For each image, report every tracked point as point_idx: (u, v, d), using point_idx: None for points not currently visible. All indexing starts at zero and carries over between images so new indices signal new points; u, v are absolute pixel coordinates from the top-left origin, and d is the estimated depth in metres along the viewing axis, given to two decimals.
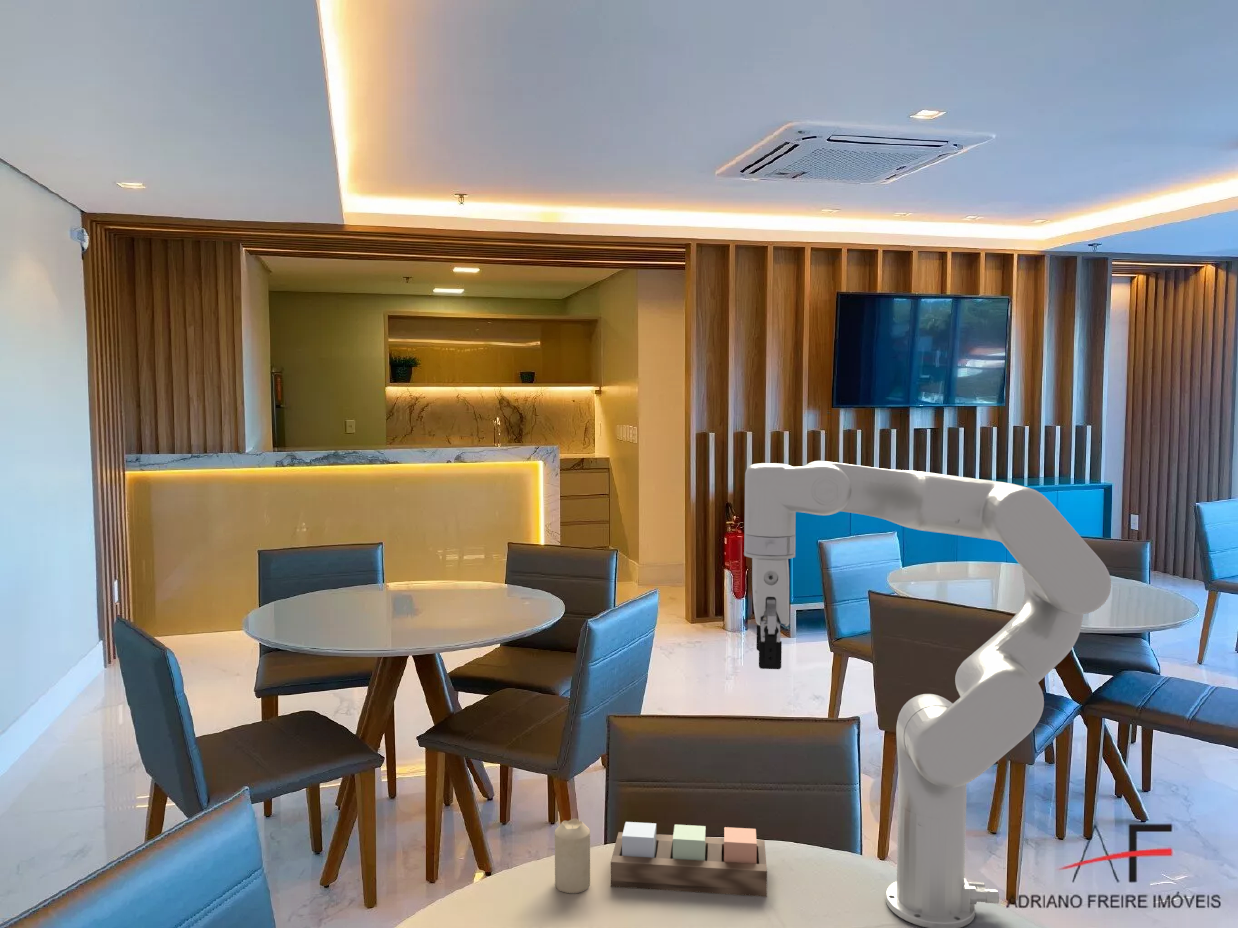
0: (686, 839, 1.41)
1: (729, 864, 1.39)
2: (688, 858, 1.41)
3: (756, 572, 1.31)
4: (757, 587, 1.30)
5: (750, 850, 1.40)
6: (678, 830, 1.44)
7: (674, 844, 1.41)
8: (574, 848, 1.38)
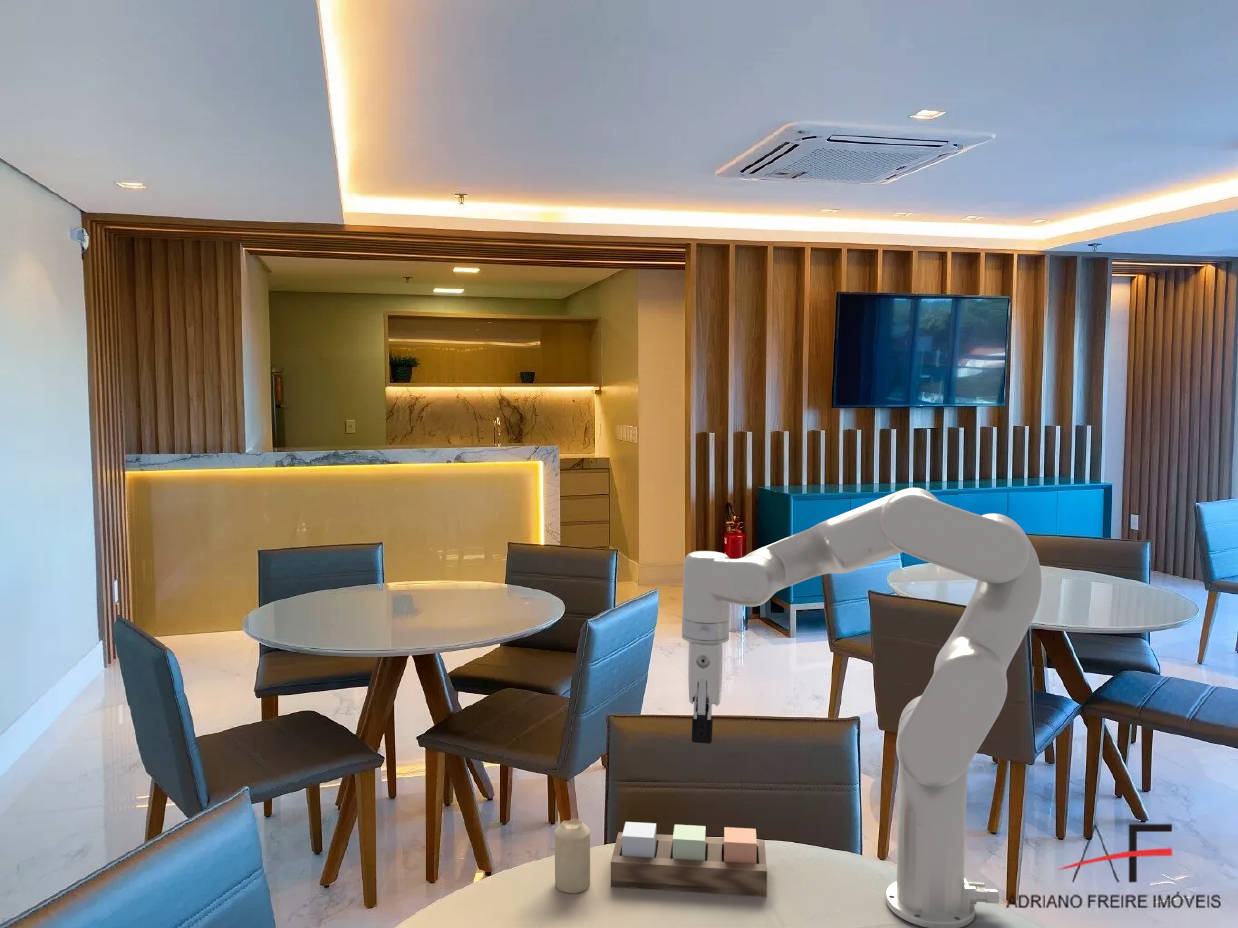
0: (686, 839, 1.41)
1: (729, 864, 1.39)
2: (688, 858, 1.41)
3: (690, 655, 1.41)
4: (690, 669, 1.40)
5: (750, 850, 1.40)
6: (678, 830, 1.44)
7: (674, 844, 1.41)
8: (574, 848, 1.38)
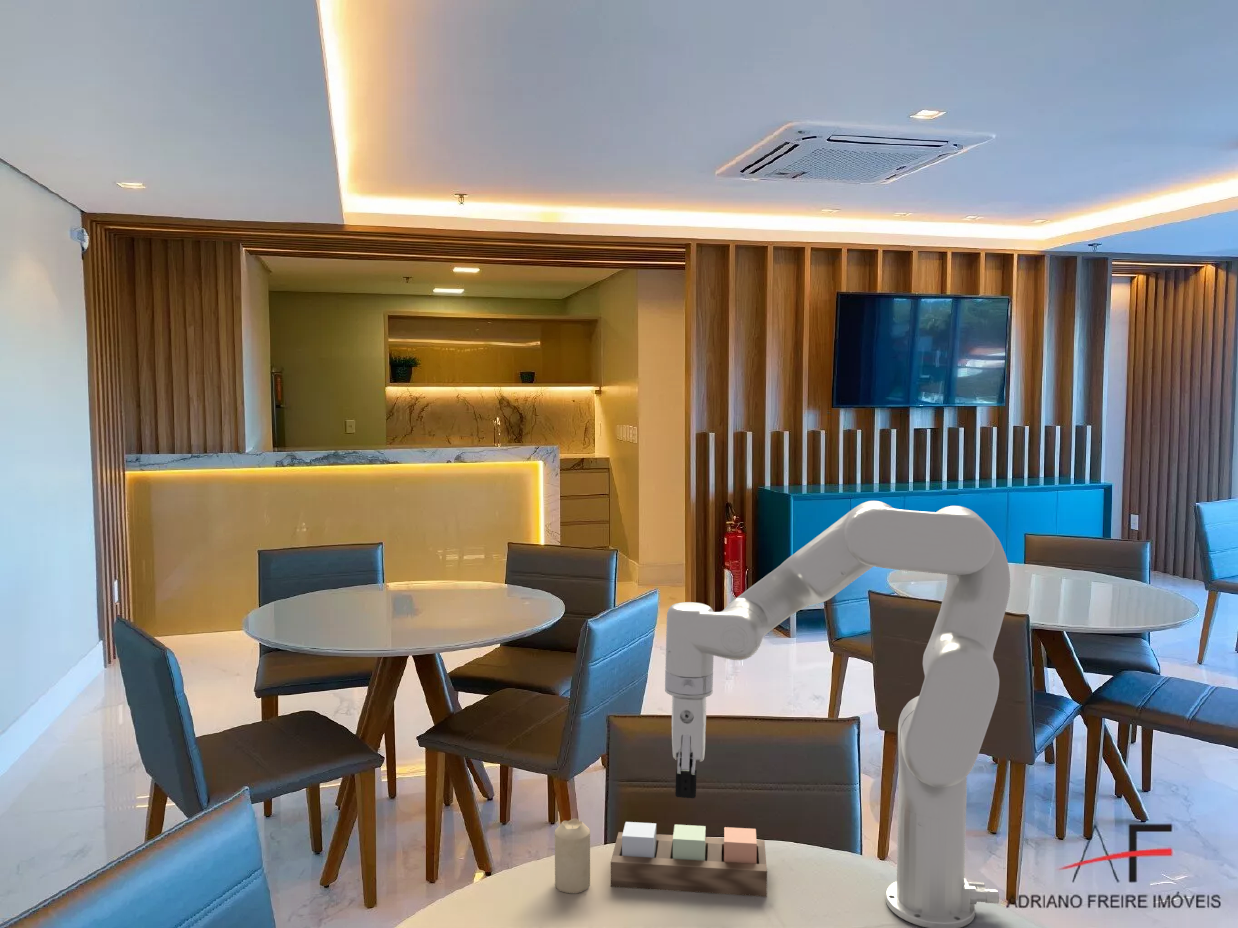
0: (686, 839, 1.41)
1: (729, 864, 1.39)
2: (688, 858, 1.41)
3: (673, 710, 1.38)
4: (674, 724, 1.38)
5: (750, 850, 1.40)
6: (678, 830, 1.44)
7: (674, 844, 1.41)
8: (574, 848, 1.38)
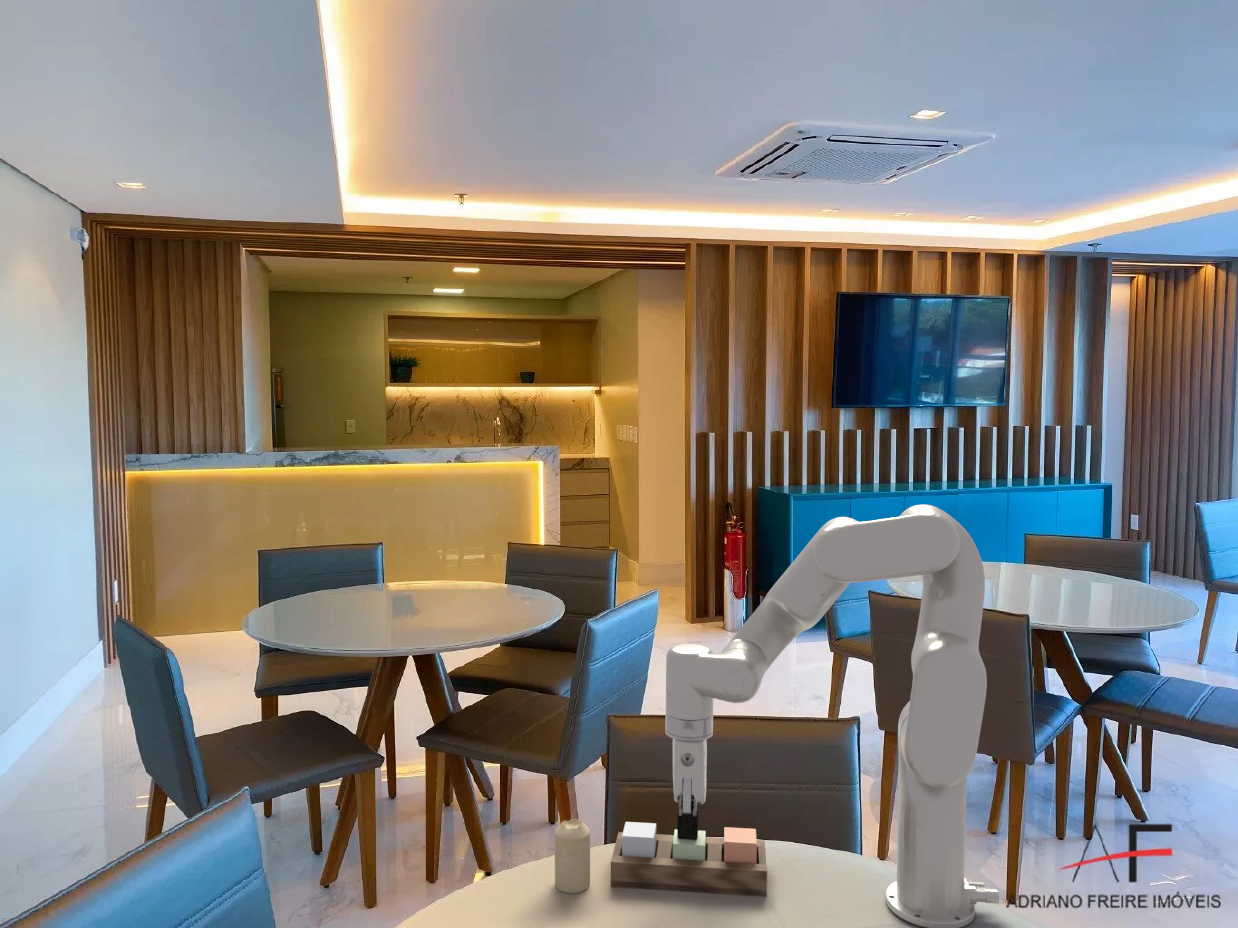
0: (686, 844, 1.41)
1: (729, 864, 1.39)
2: None
3: (674, 753, 1.39)
4: (675, 767, 1.38)
5: (750, 850, 1.40)
6: None
7: (674, 849, 1.41)
8: (574, 848, 1.38)
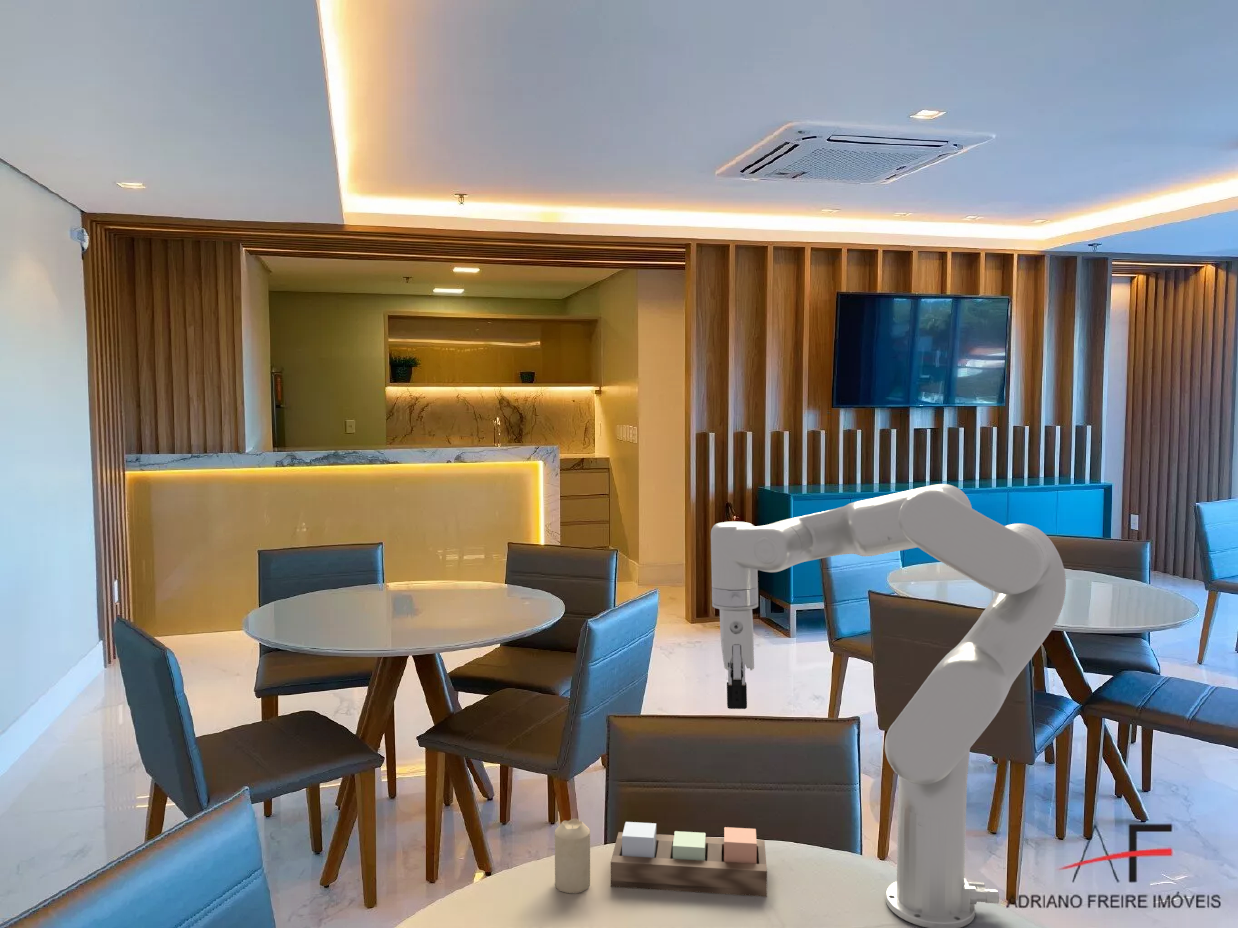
0: (686, 846, 1.41)
1: (729, 864, 1.39)
2: None
3: (723, 622, 1.44)
4: (724, 636, 1.44)
5: (750, 850, 1.40)
6: (678, 837, 1.44)
7: (674, 851, 1.41)
8: (574, 848, 1.38)
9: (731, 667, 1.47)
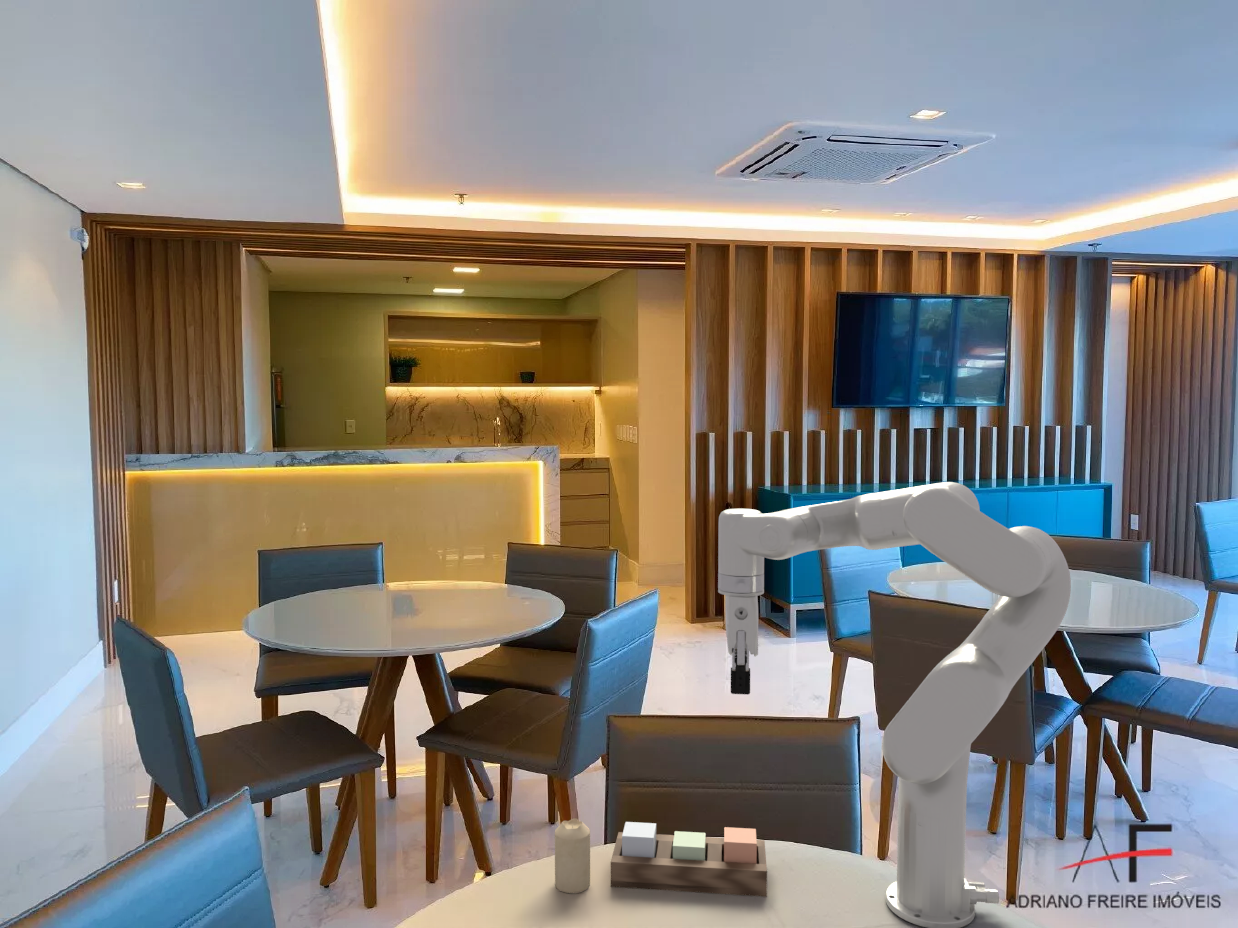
0: (686, 846, 1.41)
1: (729, 864, 1.39)
2: None
3: (728, 608, 1.45)
4: (729, 621, 1.45)
5: (750, 850, 1.40)
6: (678, 837, 1.44)
7: (674, 851, 1.41)
8: (574, 848, 1.38)
9: (735, 653, 1.48)
